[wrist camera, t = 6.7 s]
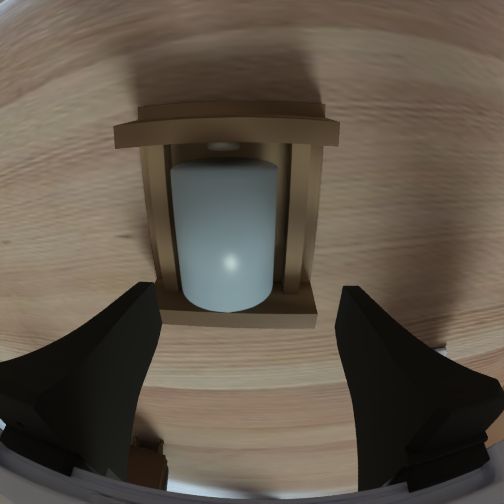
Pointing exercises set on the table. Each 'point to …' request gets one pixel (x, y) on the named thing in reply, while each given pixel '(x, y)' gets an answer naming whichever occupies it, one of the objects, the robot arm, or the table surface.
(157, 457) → the alarm clock
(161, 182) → the holder
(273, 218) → the tapered cup
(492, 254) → the table surface
